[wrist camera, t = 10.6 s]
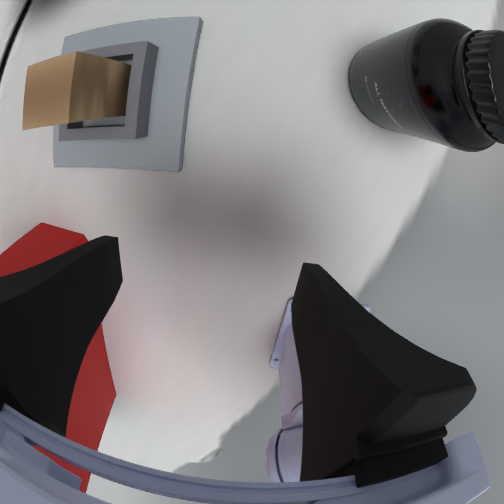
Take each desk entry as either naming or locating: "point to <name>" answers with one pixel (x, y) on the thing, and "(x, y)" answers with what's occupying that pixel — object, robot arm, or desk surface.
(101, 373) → the book
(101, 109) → the oak peg
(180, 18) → the stand
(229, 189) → the desk surface
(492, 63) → the supplement bottle
